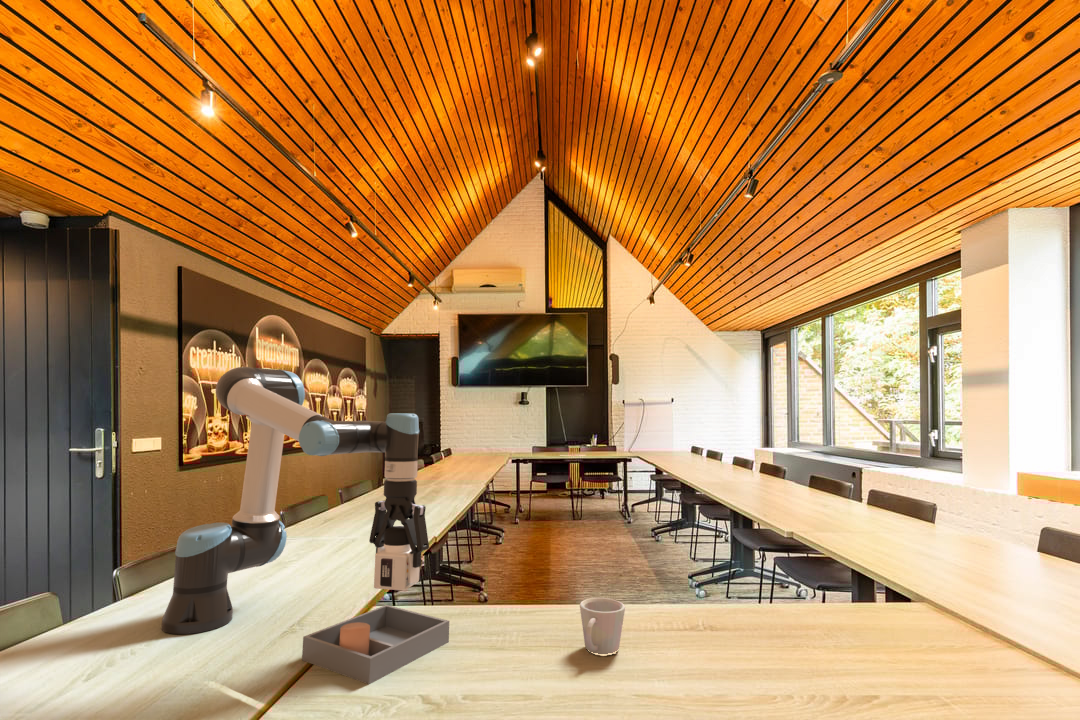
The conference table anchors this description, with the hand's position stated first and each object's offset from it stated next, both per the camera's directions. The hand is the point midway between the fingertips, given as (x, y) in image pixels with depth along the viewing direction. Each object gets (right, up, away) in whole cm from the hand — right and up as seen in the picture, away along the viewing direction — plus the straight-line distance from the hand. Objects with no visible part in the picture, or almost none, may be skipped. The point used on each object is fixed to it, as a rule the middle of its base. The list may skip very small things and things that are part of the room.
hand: (397, 578), depth 129 cm
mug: (+46, -16, -3) cm, 49 cm away
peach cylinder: (-6, -13, -11) cm, 18 cm away
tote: (-3, -15, -5) cm, 16 cm away
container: (0, -2, 0) cm, 2 cm away
